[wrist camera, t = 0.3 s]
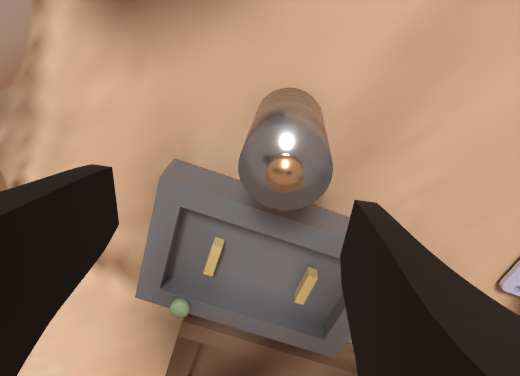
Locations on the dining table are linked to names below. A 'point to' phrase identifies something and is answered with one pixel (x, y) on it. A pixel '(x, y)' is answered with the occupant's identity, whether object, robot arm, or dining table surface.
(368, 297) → the robot arm
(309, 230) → the grey tray with pegs
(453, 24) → the dining table surface
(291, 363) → the shallow wooden tray
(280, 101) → the cell
